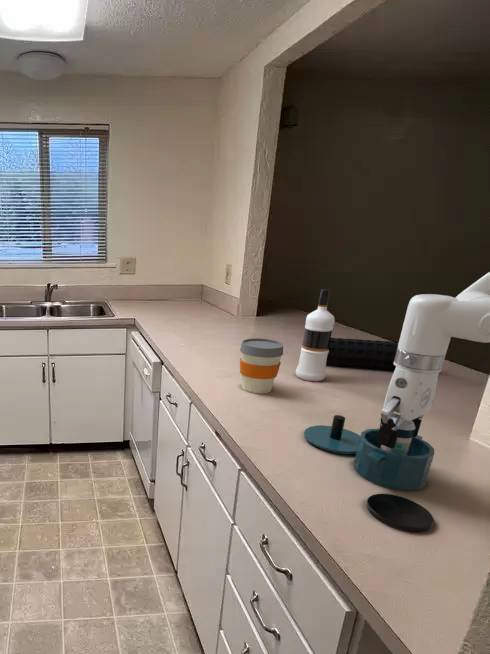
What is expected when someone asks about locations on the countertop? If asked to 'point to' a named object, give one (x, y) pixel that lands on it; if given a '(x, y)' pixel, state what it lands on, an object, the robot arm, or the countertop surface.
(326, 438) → the lid
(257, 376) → the reusable coffee cup
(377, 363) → the roller
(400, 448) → the beer can
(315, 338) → the vodka
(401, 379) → the robot arm
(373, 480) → the pot
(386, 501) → the black plate
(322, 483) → the countertop surface
